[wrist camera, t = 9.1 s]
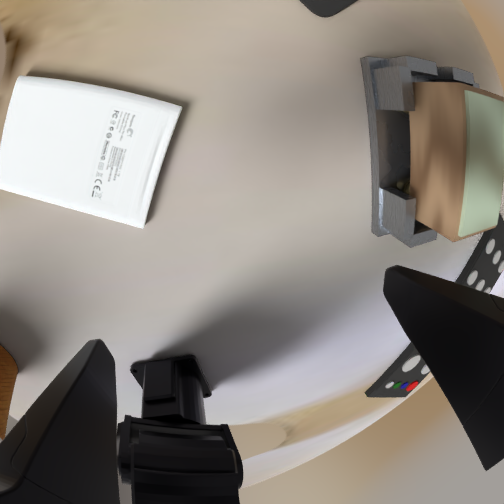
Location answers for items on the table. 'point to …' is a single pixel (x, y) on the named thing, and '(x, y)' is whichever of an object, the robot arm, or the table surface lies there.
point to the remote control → (473, 275)
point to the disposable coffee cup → (6, 387)
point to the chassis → (397, 140)
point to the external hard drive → (85, 147)
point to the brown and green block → (456, 157)
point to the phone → (326, 6)
